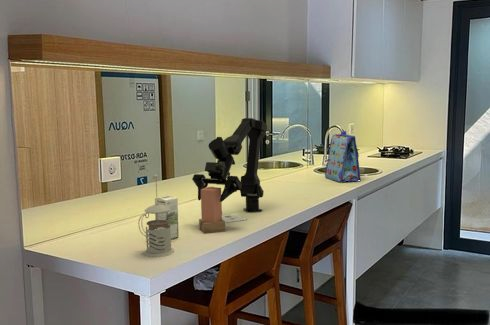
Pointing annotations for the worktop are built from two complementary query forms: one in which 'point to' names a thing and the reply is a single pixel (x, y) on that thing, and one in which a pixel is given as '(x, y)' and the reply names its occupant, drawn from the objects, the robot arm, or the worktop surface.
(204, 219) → the tall brick
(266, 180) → the worktop surface
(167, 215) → the syrup box
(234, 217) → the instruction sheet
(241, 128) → the robot arm
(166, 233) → the french press
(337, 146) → the lunch bag
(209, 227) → the base brick
